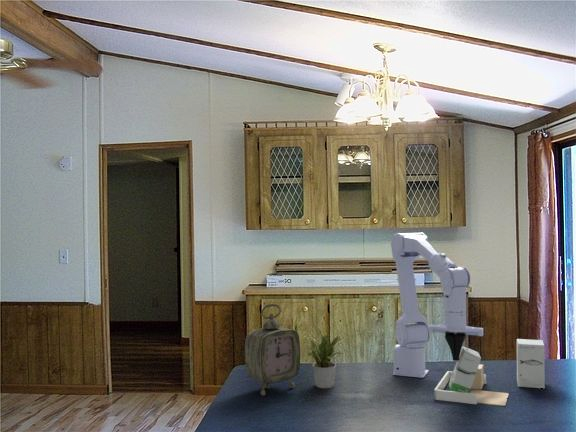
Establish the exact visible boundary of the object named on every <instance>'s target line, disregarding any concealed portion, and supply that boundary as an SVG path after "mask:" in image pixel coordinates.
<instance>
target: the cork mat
mask: <svg viewBox="0 0 576 432" xmlns="http://www.w3.org/2000/svg"><path fill="white" fill-rule="evenodd" d="M469 393H473V394H477V404H480V405H481V404H483V405H489V406H497V407H498V406H500V407H506V404H507V401H508V399H507V398H509V396H510V395H509V394H510V393H508V392H500V391H491V390H490V391H489V390H482V389H481V390H479V389H471V390H470V392H469Z"/></svg>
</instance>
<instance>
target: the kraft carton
mask: <svg viewBox="0 0 576 432" xmlns="http://www.w3.org/2000/svg"><path fill="white" fill-rule="evenodd" d="M483 374H484V364H481V363H479V366H478V369H477V372H476V375H475V378H474V381H473V384H472V387H471V389H472V390H481V391H482V389H483V387H484V385H485V384H484V377H483Z"/></svg>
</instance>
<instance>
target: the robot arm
mask: <svg viewBox="0 0 576 432" xmlns="http://www.w3.org/2000/svg"><path fill="white" fill-rule="evenodd" d="M390 247H391V255H392V261H395V266H396V273H397V280H398V281H397V282H398V290H399V298H400V303H401V311H402V312H401V313H402V315H401V316H400V317H399V318H398V319H397V320H396V321H395V331H394V336H395V340H396V342H397V344H395V345H394V348H393V375H394V376H399V377H400V376H401V377H409V378H410V377H412V378H421V379H422V378H425V377H426V376H427V374H428V373H429V372H430V371H429V369H426V346H428V343H429V342H430V340H431V336H432V334H433V333H438V334H444V338H445V341H446V343H447V344H448V347H449V349H450V352H451V357H452V361H453V362H454V361H455V362H457V361H458V360H459V356H460V351H461V348H462V346H463V345H464V342H465V340H466V337H467V336H477V337H483V336H484V327H475V326H469V325H467V292H466V291H467V289H466V288H468V287H469V286H470V284H471V274H470V271H469V270H468V269H467V267H465V266H460V265H459V266H458V265H456V263H454V262H453V261H452V260H451V259H450V258H449V257H447V254H446V253H443V252H437V251H436V250H435V249H434V248H433V246H432V245H431V244H430V243H429V239H428V236H427V235H426V234H425V233H424V232H422V231H419V232H405V233H404V232H403V233H401V232H395V234H394V235H393V236H392V238H391V240H390ZM420 257H422V258H423V259H425V260H426V261H427V262H428V268H429V269H430V270H432V272H434V274H435V275H437V277H438V278H439V282H440V285H441V287H442V288H441V289H442V294H443V296H444V324H428V319H427V317H425V316H424V315H422V314H421V313H420V309H419V302H418V293H417V288H416V287H417V286H416V280H415V279H416V278H415V273H414V272H415V271H414V262H415V260H418V259H419V258H420ZM413 323H414V324H413Z"/></svg>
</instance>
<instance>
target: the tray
mask: <svg viewBox="0 0 576 432" xmlns="http://www.w3.org/2000/svg"><path fill="white" fill-rule="evenodd" d="M453 371H454V370H453ZM453 371H452V370H451V371H450V370H447V371H446V372H445V374H444V375H443V376H442V378H441V380H439V382H438V384H437V385H436V386H435V388H434V390H433V396H434V397H433V400H436V401H444V402H453V403H463V404H470V405H478V403H477V394H473V393H470V392H469V393H464V392H455V391H450V390H444V389H445V387H446V386H447V384H449V382H450V379H451V376H452V374H453ZM483 377H484V385H486V384H487V374H485V373H483Z"/></svg>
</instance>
